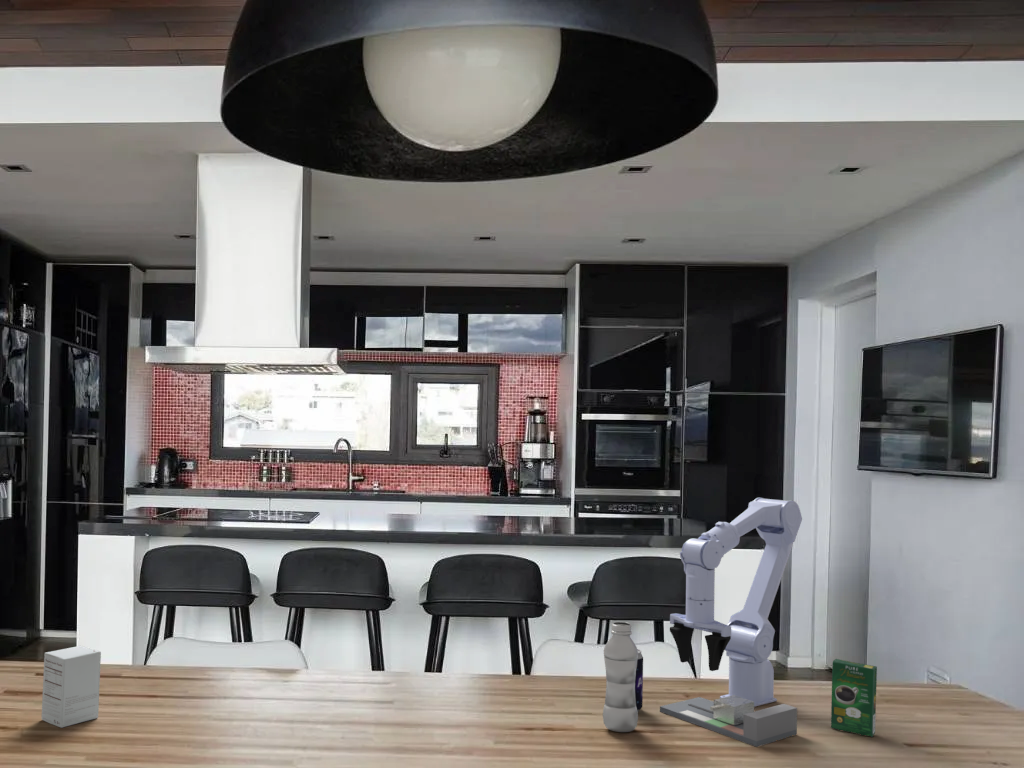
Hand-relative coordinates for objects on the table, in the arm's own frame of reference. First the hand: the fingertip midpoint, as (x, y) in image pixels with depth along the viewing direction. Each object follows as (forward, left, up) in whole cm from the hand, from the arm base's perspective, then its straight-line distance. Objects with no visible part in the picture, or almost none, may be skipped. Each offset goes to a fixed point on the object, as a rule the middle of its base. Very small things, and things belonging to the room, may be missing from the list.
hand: (699, 665), depth 179 cm
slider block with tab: (+2, +9, -8) cm, 12 cm away
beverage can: (+11, -9, -10) cm, 17 cm away
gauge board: (0, +7, -9) cm, 12 cm away
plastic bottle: (+21, -1, -10) cm, 23 cm away
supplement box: (+105, -62, -10) cm, 122 cm away
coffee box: (-17, +24, -10) cm, 31 cm away
